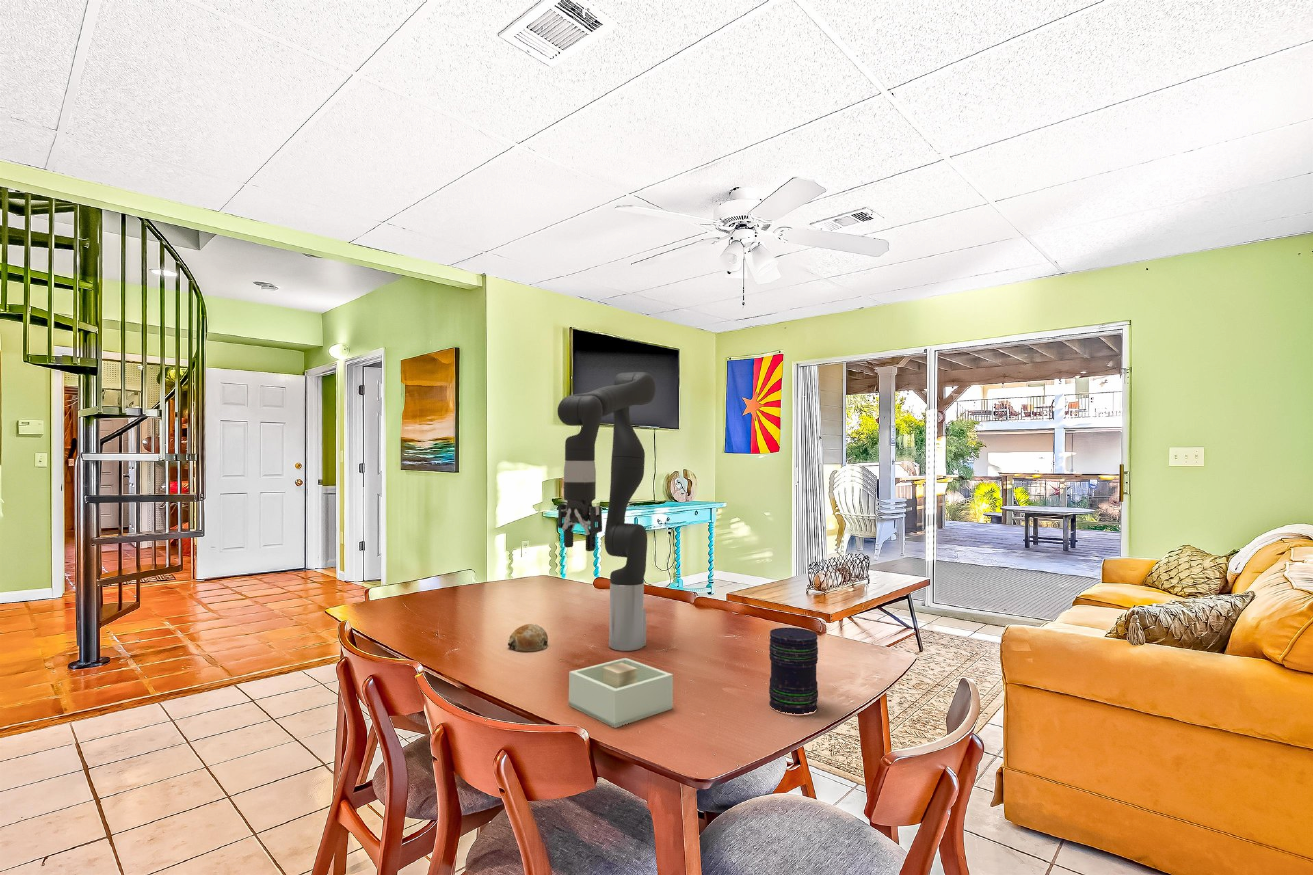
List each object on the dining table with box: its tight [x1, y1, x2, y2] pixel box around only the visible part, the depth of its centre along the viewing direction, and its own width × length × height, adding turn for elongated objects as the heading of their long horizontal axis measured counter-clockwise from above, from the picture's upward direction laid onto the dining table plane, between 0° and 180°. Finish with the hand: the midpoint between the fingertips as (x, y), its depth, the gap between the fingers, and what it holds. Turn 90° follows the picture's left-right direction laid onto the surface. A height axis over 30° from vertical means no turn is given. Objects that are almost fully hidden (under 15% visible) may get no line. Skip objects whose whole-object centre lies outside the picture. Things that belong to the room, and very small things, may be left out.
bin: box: [568, 657, 674, 729], centre depth 132 cm, size 15×15×7 cm
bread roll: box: [507, 623, 549, 653], centre depth 174 cm, size 10×10×8 cm
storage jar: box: [768, 627, 819, 714], centre depth 133 cm, size 10×10×15 cm
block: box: [603, 663, 637, 689], centre depth 132 cm, size 5×5×7 cm
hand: (579, 548), depth 152 cm, fingers open, 8 cm apart
